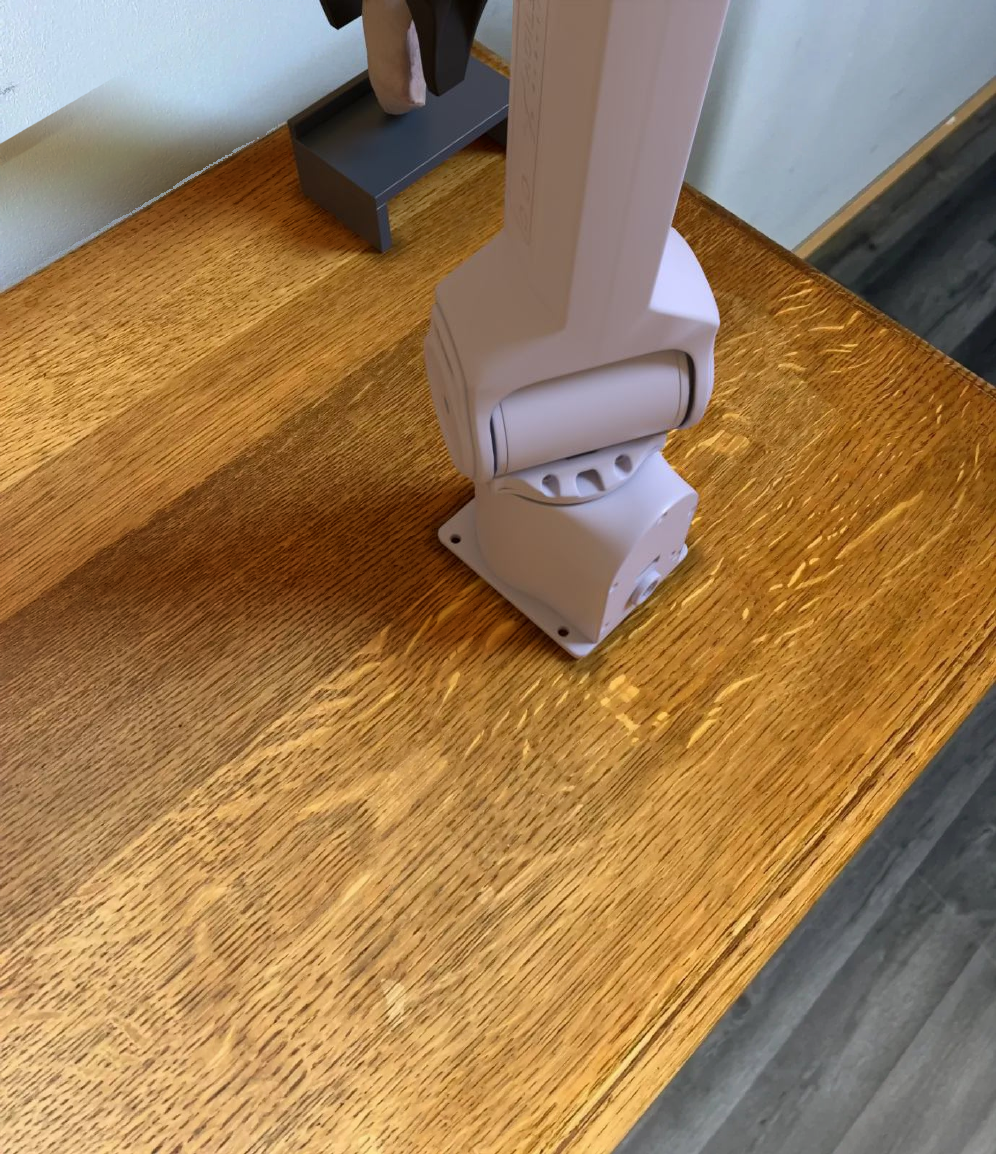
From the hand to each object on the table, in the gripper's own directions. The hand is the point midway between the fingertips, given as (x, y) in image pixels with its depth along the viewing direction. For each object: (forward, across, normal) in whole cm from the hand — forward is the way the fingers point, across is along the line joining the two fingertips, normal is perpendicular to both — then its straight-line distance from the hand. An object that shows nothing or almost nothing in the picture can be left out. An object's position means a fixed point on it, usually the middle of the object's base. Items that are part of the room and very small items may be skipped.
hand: (396, 51), depth 53 cm
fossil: (+4, 0, 0) cm, 4 cm away
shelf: (+8, 0, +1) cm, 8 cm away
